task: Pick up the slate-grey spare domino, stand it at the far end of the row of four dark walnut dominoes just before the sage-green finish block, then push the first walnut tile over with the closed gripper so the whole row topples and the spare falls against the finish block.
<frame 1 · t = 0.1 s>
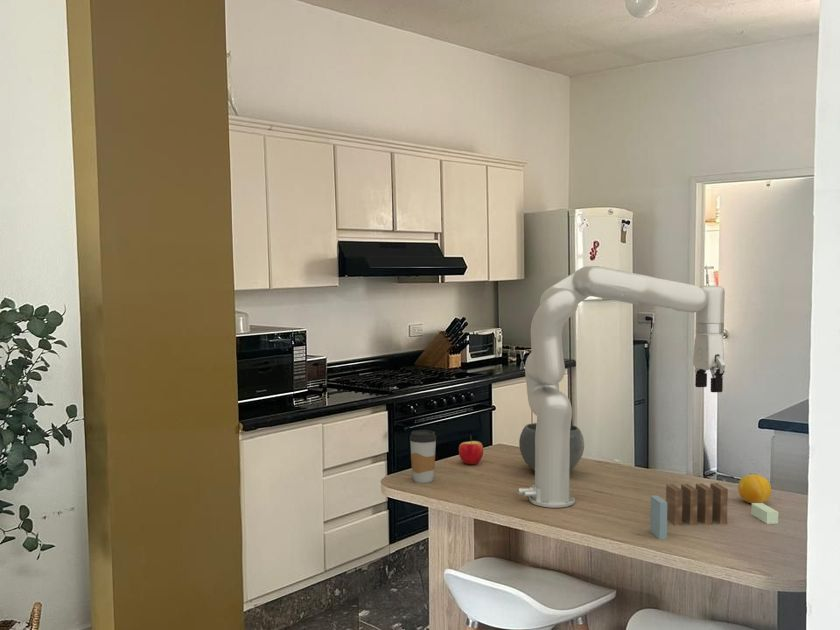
hand: (708, 389, 226), 31 cm above the counter, fingers open, 9 cm apart
apple: (471, 464, 269), on the counter
domino 1: (673, 521, 207), on the counter
domino 4: (718, 520, 208), on the counter
domino 2: (688, 521, 207), on the counter
finish block: (764, 518, 209), on the counter
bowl: (551, 473, 257), on the counter
fruit: (754, 503, 223), on the counter
domino 3: (703, 520, 207), on the counter
domino 5: (658, 535, 196), on the counter
coffee cup: (423, 481, 247), on the counter
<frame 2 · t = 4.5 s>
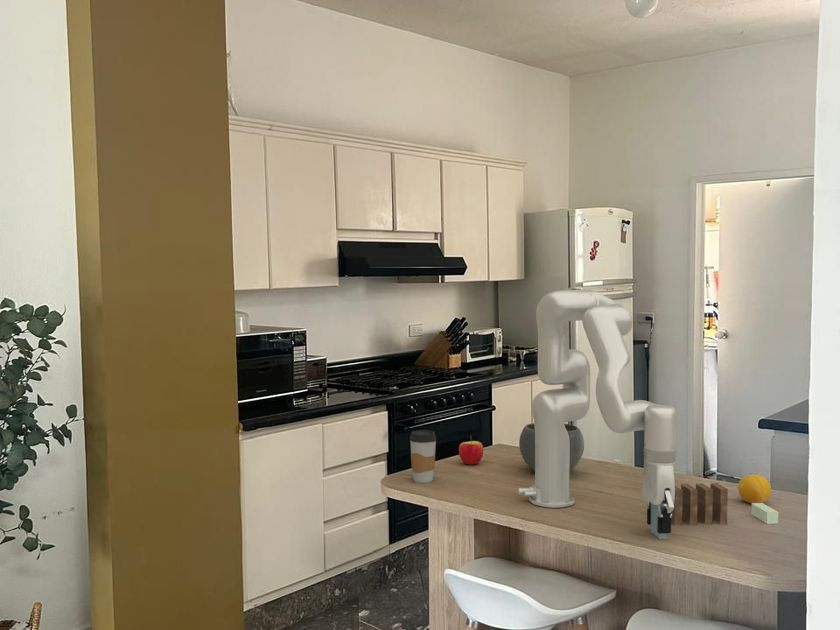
hand: (658, 527, 196), 2 cm above the counter, fingers closed on domino 5, 6 cm apart
domino 5: (658, 535, 196), on the counter, touching gripper
everything else where it was.
when the fingers open (2 cm above the counter, at t = 10.7 s): domino 5 stays where it is, on the counter.
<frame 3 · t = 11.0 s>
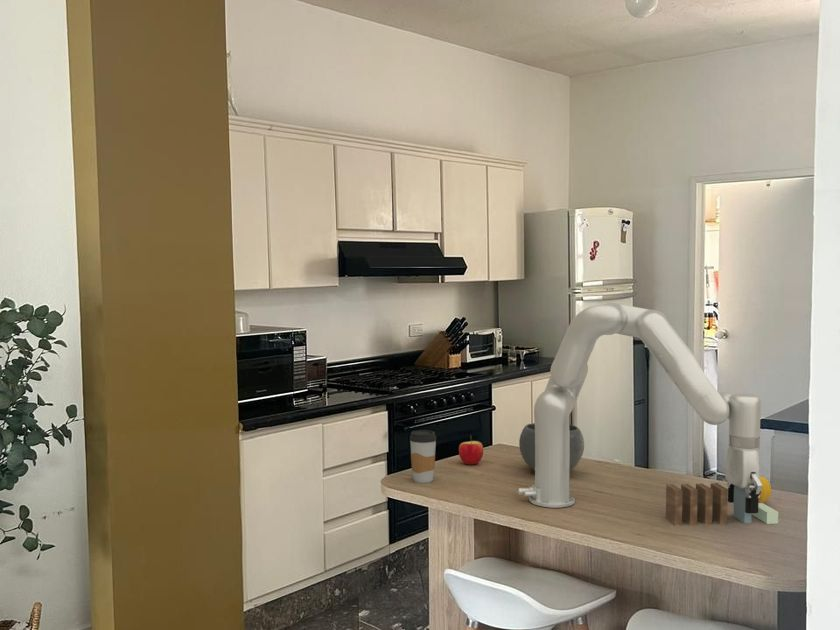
hand: (742, 507, 208), 3 cm above the counter, fingers open, 9 cm apart
domino 5: (742, 519, 208), on the counter
everything else where it was.
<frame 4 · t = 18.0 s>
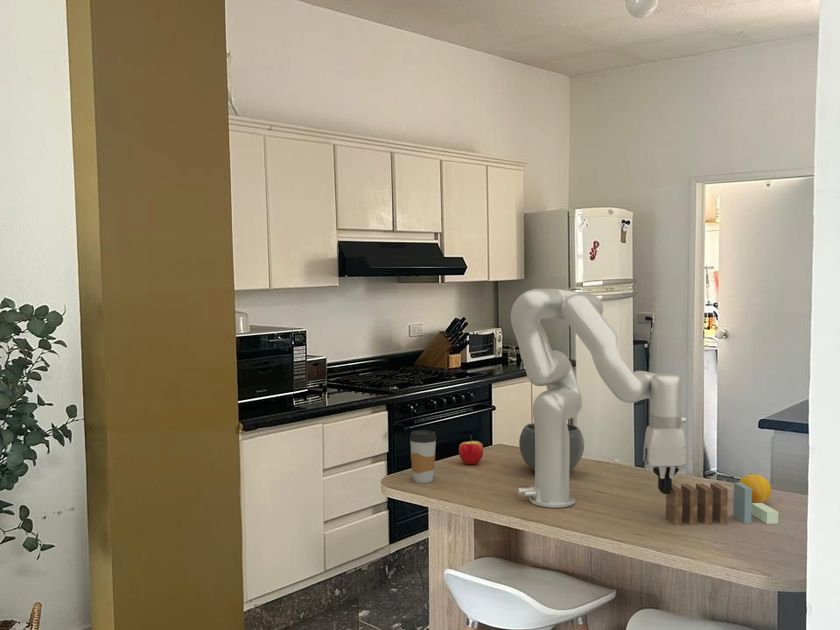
hand: (664, 492, 206), 8 cm above the counter, fingers closed
domino 1: (673, 521, 207), on the counter, touching gripper
everything else where it was.
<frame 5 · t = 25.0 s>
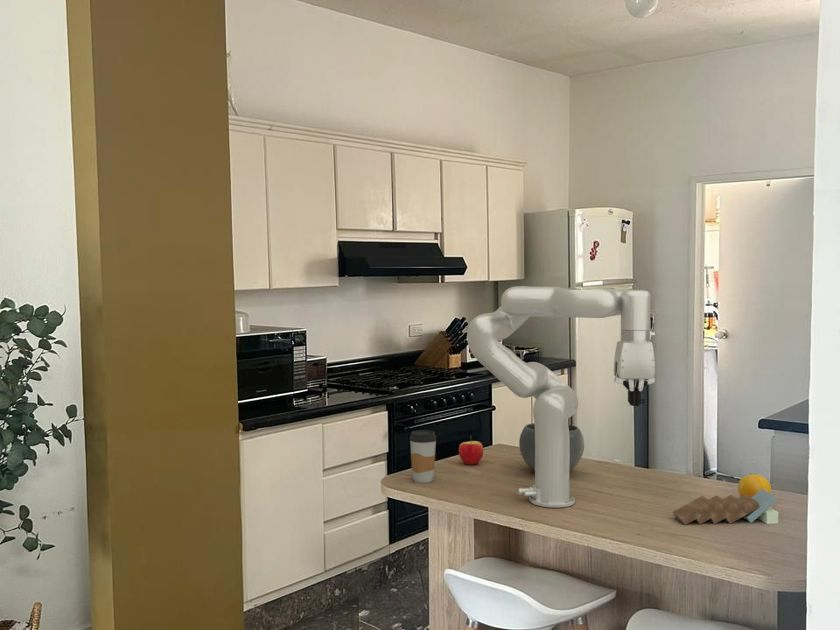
hand: (634, 405, 212), 29 cm above the counter, fingers closed
domino 1: (678, 518, 207), point 1 cm above the counter, tilted 63°, touching domino 2
domino 4: (722, 517, 208), point 1 cm above the counter, tilted 63°, touching domino 3, domino 5
domino 2: (693, 517, 207), point 1 cm above the counter, tilted 63°, touching domino 1, domino 3
domino 3: (707, 517, 208), point 1 cm above the counter, tilted 63°, touching domino 2, domino 4
domino 5: (743, 516, 208), point 1 cm above the counter, tilted 51°, touching domino 4, finish block
everything else where it was.
at the end: domino 5 tilted 51°; domino 4 tilted 63°; the gripper is holding nothing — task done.
